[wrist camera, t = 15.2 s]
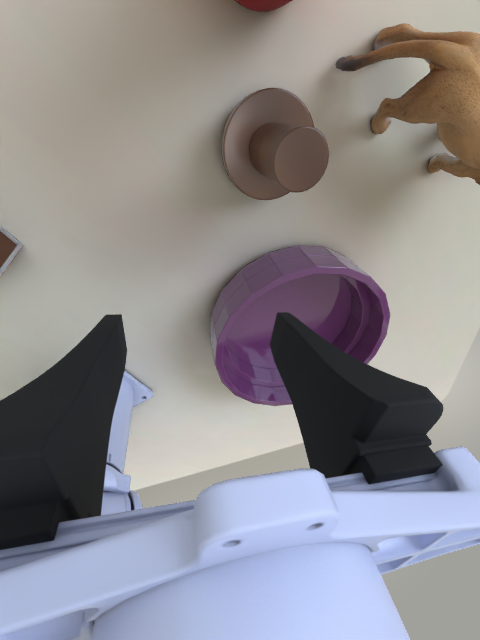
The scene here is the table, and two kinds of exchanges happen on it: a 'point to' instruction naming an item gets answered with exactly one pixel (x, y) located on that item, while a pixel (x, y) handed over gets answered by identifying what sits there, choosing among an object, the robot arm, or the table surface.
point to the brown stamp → (273, 145)
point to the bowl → (302, 302)
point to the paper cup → (262, 4)
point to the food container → (7, 249)
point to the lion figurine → (434, 91)
